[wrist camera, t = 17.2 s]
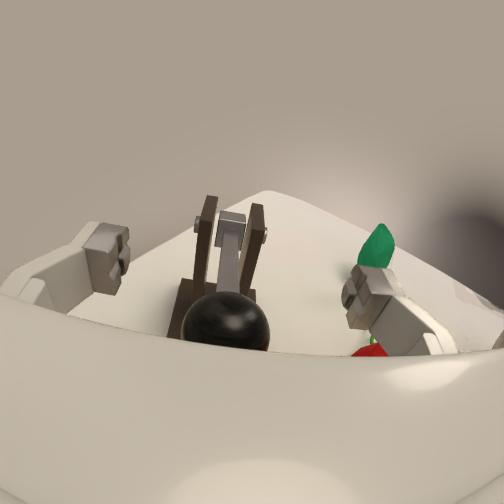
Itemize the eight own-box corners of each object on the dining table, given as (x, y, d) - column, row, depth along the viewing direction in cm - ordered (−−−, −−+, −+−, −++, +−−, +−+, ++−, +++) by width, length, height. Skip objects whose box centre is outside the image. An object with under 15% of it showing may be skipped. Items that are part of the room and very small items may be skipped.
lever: (262, 399, 11) (286, 332, 9) (173, 389, 10) (176, 317, 9) (246, 247, 27) (254, 209, 25) (207, 240, 26) (213, 202, 25)
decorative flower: (420, 294, 43) (449, 249, 38) (413, 456, 20) (480, 415, 15) (351, 262, 47) (375, 212, 41) (297, 416, 24) (343, 363, 18)
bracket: (254, 364, 28) (295, 257, 20) (165, 351, 27) (164, 235, 19) (253, 296, 36) (282, 195, 28) (181, 285, 35) (190, 179, 27)
